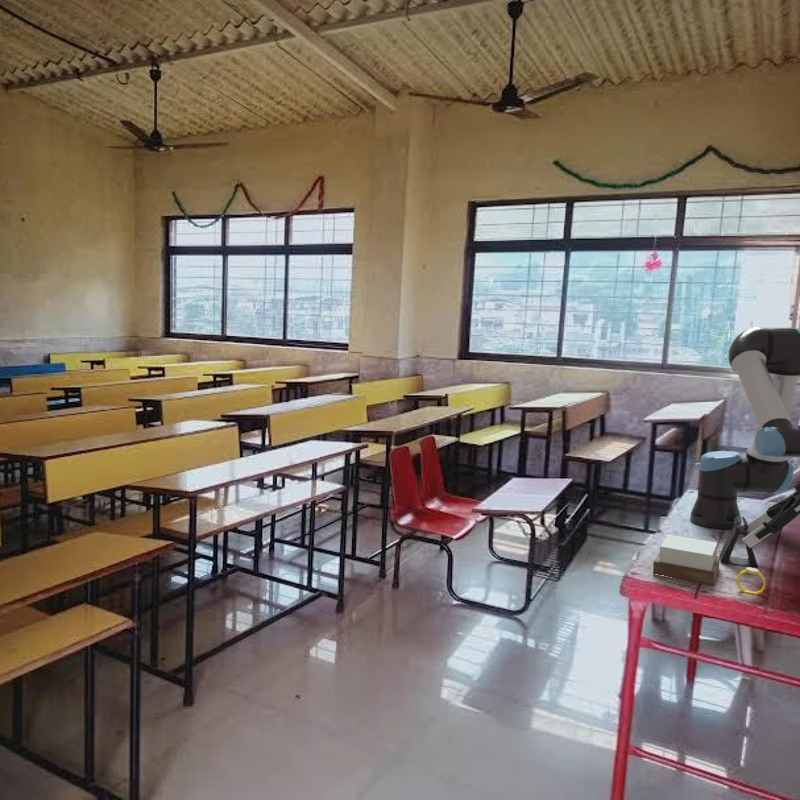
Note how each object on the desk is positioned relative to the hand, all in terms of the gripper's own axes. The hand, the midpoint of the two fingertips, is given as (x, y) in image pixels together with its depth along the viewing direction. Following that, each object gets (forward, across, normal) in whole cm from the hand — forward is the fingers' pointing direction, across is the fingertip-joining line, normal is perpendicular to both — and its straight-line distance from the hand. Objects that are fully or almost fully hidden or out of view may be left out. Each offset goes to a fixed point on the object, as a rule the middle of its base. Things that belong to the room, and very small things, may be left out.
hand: (747, 536), depth 174 cm
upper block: (+12, -15, +6) cm, 20 cm away
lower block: (+15, -15, +3) cm, 21 cm away
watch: (+4, -22, -7) cm, 23 cm away
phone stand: (+7, +1, -4) cm, 8 cm away
